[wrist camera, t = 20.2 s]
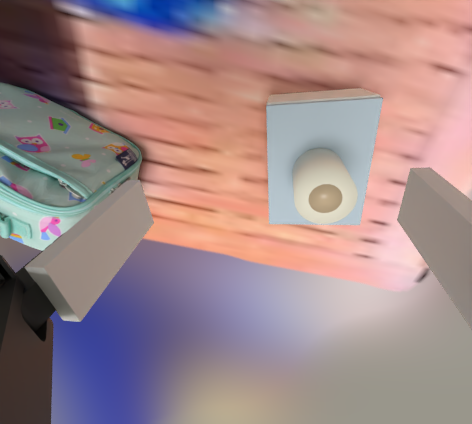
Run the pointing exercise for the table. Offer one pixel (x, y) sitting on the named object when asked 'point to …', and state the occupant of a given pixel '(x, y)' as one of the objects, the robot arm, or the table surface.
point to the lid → (319, 136)
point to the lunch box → (54, 166)
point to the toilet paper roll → (322, 187)
